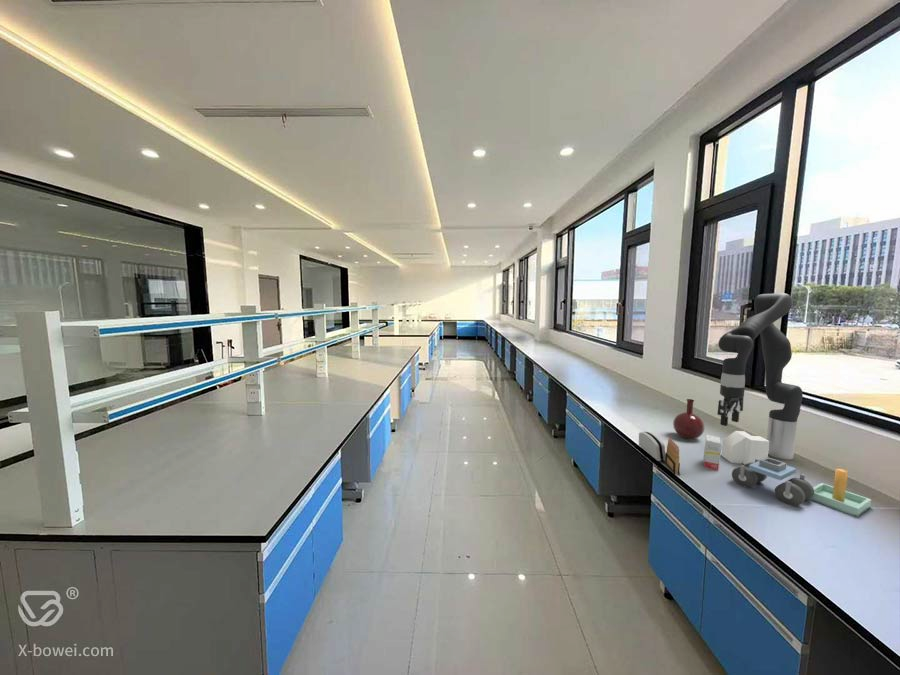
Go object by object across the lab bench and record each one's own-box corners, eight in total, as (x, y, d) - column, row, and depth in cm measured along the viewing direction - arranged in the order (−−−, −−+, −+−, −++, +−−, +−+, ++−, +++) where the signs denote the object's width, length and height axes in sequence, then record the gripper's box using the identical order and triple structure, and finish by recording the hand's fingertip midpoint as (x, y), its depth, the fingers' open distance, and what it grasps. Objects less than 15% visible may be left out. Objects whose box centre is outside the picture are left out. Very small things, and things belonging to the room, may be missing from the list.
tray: (820, 490, 128) (821, 482, 128) (870, 507, 117) (871, 499, 117) (806, 498, 123) (807, 490, 122) (857, 517, 112) (858, 508, 112)
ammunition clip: (679, 475, 139) (681, 447, 137) (674, 475, 139) (676, 446, 138) (669, 463, 149) (671, 437, 148) (664, 463, 149) (666, 436, 148)
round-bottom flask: (702, 436, 179) (705, 398, 177) (704, 445, 168) (707, 405, 166) (672, 431, 186) (674, 395, 184) (672, 439, 175) (675, 401, 173)
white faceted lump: (766, 469, 144) (769, 441, 143) (735, 466, 147) (738, 439, 145) (750, 457, 155) (752, 431, 154) (721, 455, 157) (723, 429, 156)
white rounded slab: (669, 463, 149) (668, 441, 148) (658, 464, 149) (656, 442, 148) (648, 447, 165) (647, 427, 164) (638, 448, 165) (637, 428, 165)
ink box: (718, 471, 143) (721, 443, 141) (704, 467, 145) (706, 440, 144) (717, 463, 150) (719, 436, 148) (703, 460, 152) (705, 434, 151)
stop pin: (833, 497, 122) (837, 468, 121) (845, 501, 119) (849, 471, 118) (830, 499, 121) (834, 469, 119) (842, 504, 118) (846, 473, 117)
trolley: (745, 475, 139) (748, 448, 137) (814, 501, 121) (818, 469, 120) (729, 482, 133) (732, 453, 132) (799, 510, 115) (802, 477, 114)
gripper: (730, 380, 145) (728, 417, 147) (712, 384, 139) (709, 423, 141) (752, 384, 139) (749, 423, 140) (734, 388, 132) (731, 429, 134)
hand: (729, 423), depth 140 cm, fingers open, 8 cm apart
